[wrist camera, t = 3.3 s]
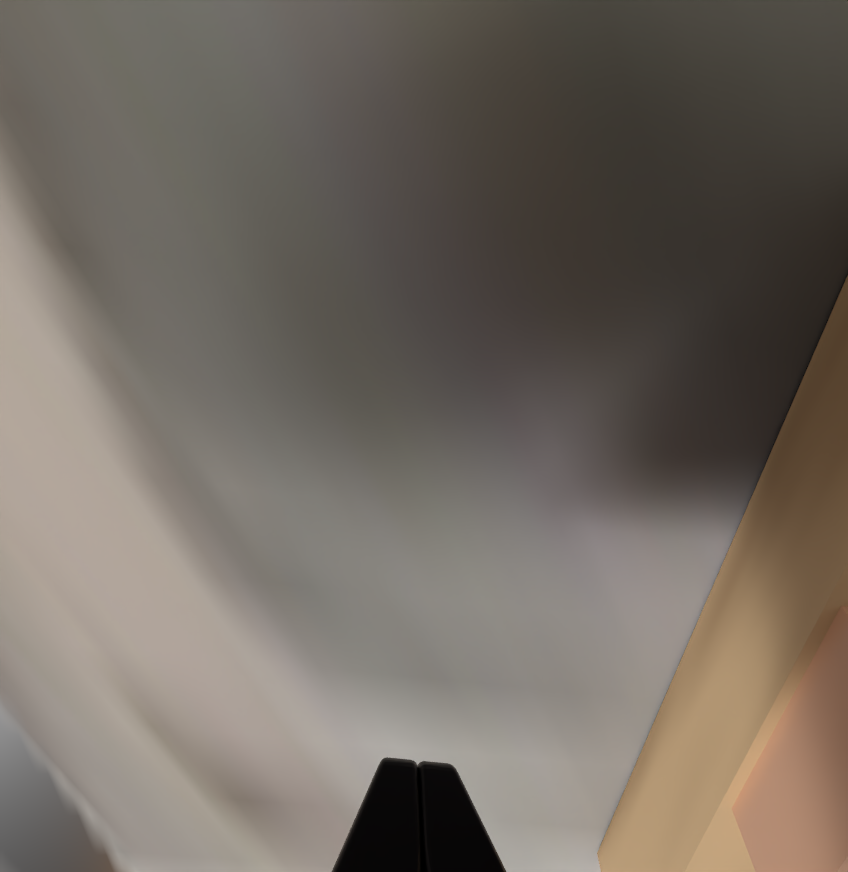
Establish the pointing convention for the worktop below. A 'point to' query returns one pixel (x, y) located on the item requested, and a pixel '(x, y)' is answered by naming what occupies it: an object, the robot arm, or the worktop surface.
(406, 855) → the robot arm
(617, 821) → the tan rectangular slab
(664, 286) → the worktop surface
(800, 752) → the terracotta block
